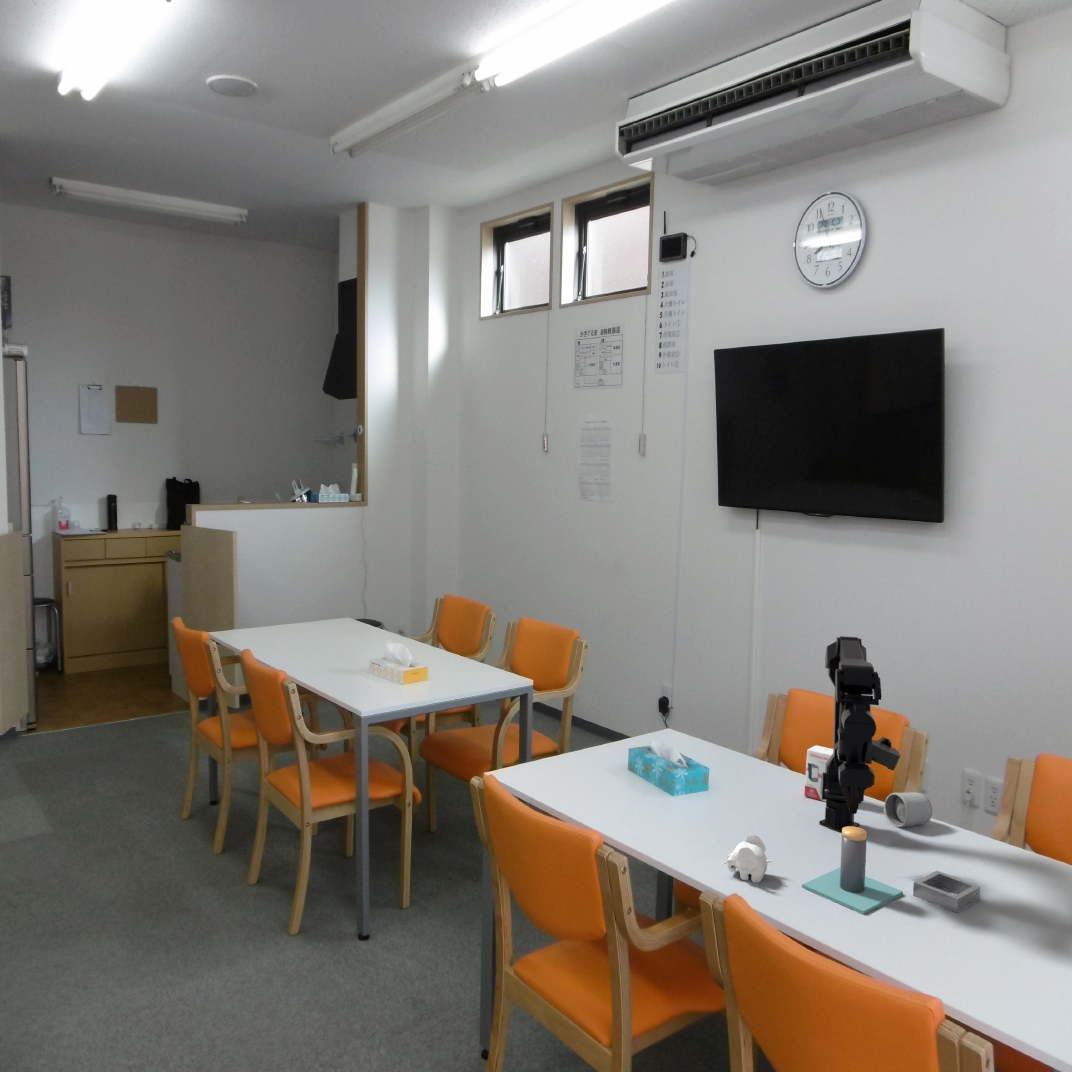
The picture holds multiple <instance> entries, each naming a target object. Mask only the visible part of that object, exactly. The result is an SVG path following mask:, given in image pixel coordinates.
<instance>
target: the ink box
mask: <svg viewBox="0 0 1072 1072" xmlns="http://www.w3.org/2000/svg"><path fill="white" fill-rule="evenodd" d="M832 754H833V748H829V747H826V746H822V745H821V746H820V745H814V746H812V747H809V748H808V749H807V750H806V761H805V763H806V765H805V779H804V796H805V797H807V798H811V799H815V800H820V801H823V802H826V800H822V798H821V779H822V772H824V773H825V765H826V763H827V761H828V760H829V758H830V757H831V756H832ZM825 791H827V790H825Z"/></svg>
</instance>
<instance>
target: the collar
mask: <svg viewBox="0 0 1072 1072" xmlns="http://www.w3.org/2000/svg"><path fill="white" fill-rule="evenodd" d="M938 887H940V888H941V889H939V888H938ZM942 889H945V890H947V891H950V892H952V893H955V894H956V895H954V894H951V893H949V892H947V891H944V890H942ZM912 896H914V897H916V898H920V899H921V900H923V901H926V902H929V903H932V904H934V905H936V906H939V907H942V908H944V909H947V910H949V911H952V912H954V913H957V914H958V913H960V912H961V911H963V910H964V909H966V908H968V907H970V906H972V905H973V904H975V903H976V902H979V901H980V900H981V886H980V885H977V884H975V883H971V882H969V881H966V880H963V879H962V878H958V877H956V876H954V875H953V876H952V875H951V874H947V873H945V872H942V871H940V870H934V871H933V872H931V873H929V874H927V875H925V876H923V877H921V878H920V879H918V880H917V879H916V880H915V881H913V890H912Z"/></svg>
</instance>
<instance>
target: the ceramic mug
mask: <svg viewBox="0 0 1072 1072" xmlns="http://www.w3.org/2000/svg"><path fill="white" fill-rule="evenodd" d="M883 814H884V815H885V816H886V818H887V820H888V821H889V823H890V824H891V825H893V826H894V827H896V828H906V827H911V826H912V827H913V826H919V825H920V826H921V825H924V824H926V823H928V822H929V821H930V820H931V819H932V815H933V806H932V803H931V801H930V800H929V798H928V797H927V796H926V795H925V794H922V793H920V792H892V793H890V794H889V795H888V796H886V798H885V801H884V808H883Z"/></svg>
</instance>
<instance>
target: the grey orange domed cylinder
mask: <svg viewBox="0 0 1072 1072" xmlns="http://www.w3.org/2000/svg"><path fill="white" fill-rule="evenodd" d="M867 836H868V832H867V830H866V829H864V828H862V827H860V826H859V827H853V826H847V827H844V828H842V832H841V844H840V845H841V850H840V867H841V869H840V888H841V889H843V890H845V891H847V892H851V893H861V892H863V891H864V890H865V876H866V864H867V863H866V861H867V838H868V837H867Z"/></svg>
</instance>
